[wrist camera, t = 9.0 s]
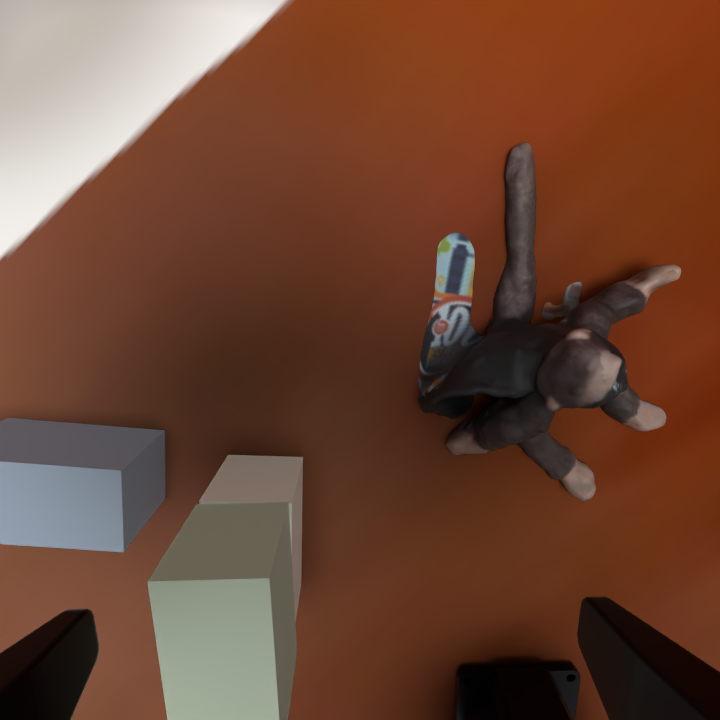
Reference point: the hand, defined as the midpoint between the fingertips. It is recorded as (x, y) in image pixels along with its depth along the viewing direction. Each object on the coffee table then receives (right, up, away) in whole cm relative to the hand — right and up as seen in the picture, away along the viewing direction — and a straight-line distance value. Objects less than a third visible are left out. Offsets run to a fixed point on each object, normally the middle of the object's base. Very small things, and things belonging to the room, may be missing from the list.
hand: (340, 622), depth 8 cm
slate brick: (-12, 0, +12) cm, 17 cm away
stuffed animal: (+8, +6, +12) cm, 15 cm away
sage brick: (-4, -4, +9) cm, 11 cm away
